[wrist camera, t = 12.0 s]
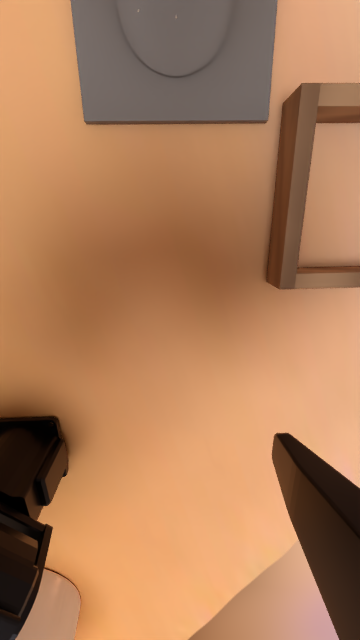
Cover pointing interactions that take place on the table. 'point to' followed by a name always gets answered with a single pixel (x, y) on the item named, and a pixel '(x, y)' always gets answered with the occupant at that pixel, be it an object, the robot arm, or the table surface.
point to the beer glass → (175, 32)
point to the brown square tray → (305, 183)
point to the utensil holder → (53, 610)
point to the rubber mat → (174, 92)
